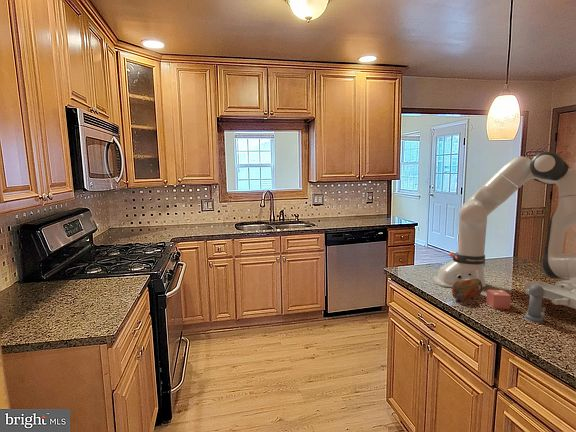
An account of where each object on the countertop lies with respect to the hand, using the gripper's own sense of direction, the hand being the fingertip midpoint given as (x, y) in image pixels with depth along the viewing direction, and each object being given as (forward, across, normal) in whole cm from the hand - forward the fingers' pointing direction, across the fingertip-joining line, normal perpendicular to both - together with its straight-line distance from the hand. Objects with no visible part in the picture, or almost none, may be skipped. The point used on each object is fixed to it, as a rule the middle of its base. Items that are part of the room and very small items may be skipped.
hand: (540, 296), depth 123 cm
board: (-3, -3, +9) cm, 10 cm away
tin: (+8, -25, +9) cm, 27 cm away
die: (+4, -13, +9) cm, 16 cm away
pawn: (+2, 0, +8) cm, 8 cm away
